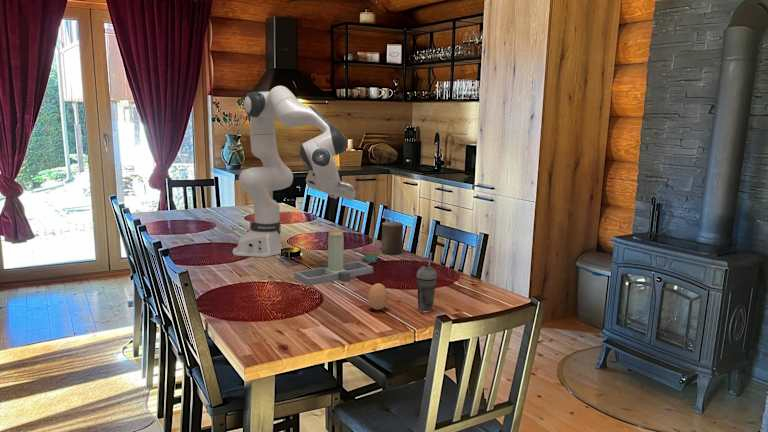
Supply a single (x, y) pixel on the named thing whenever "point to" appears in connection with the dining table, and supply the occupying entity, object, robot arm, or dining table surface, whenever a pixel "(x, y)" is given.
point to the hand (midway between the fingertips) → (334, 196)
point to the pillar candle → (392, 238)
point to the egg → (378, 296)
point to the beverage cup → (426, 286)
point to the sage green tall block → (335, 252)
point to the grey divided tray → (342, 276)
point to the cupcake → (370, 251)
